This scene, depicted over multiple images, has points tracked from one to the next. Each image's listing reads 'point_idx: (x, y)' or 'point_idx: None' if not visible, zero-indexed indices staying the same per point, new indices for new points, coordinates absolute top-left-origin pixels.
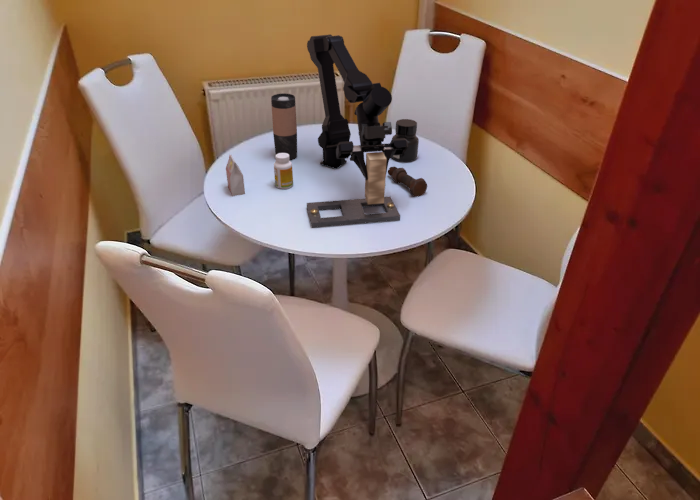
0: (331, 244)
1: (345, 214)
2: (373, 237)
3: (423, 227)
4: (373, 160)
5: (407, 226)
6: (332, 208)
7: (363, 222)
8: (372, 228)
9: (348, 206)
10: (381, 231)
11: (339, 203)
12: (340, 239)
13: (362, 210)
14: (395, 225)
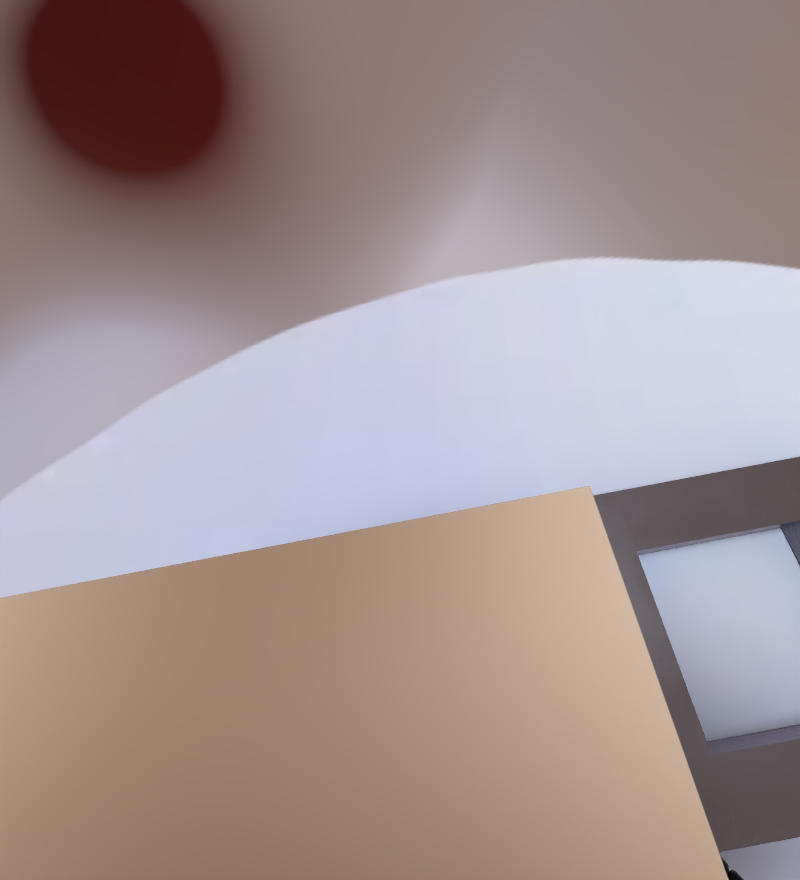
0: (648, 314)
1: (633, 571)
2: (429, 383)
3: (134, 491)
4: (437, 519)
5: (222, 499)
6: (761, 735)
7: None
8: (433, 470)
9: None
10: (382, 441)
11: (726, 773)
12: (609, 357)
13: None
14: (291, 508)
